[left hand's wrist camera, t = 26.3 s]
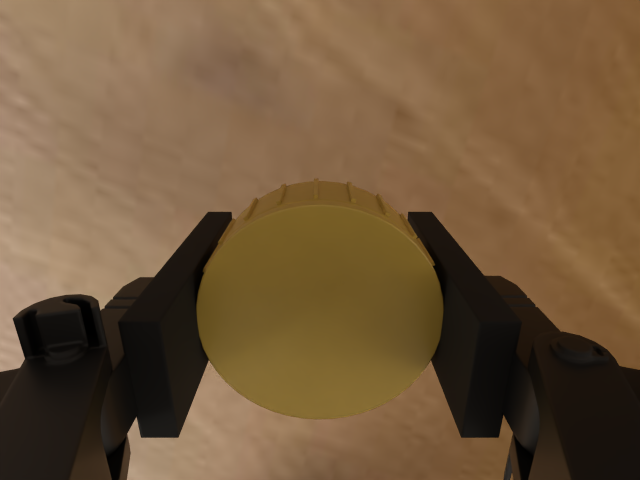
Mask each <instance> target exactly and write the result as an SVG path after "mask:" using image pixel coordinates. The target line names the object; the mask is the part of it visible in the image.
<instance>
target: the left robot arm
mask: <svg viewBox="0 0 640 480" xmlns="http://www.w3.org/2000/svg"><path fill="white" fill-rule="evenodd" d="M231 220H232V213H231V212H208V213H207V214H206V215H205V216H204V218H203V219H202V220H201V221H200V222H199V224H198V225H197V226H196V227H195V228H194V230H193V231H192V232H191V233H190V235H189V236H188V237H187V238H186V239H185V241H184V242H183V243H182V244H181V245H180V247H179V248H178V249H177V250H176V252H175V253H174V254H173V255H172V256H171V258H170V259H169V260H168V261H167V262H166V264H165V265H164V266H163V267H162V269H161V270H160V271H159V272H158V273H157V275H156V276H155V277H140V278H138V279H136V280H134V281H132V282H131V283H129V284H127V285H125V286H123V287H122V288H121V290H120V291H119V292H118V293H117V294H116V295H115V296H114V297H113V300H110V301H109V302H108V303H107V305H106V306H105V309H102V310H101V311H100V307H99V303H98V300H96V299H95V298H94V297H92V296H87V295H82V294H76V295H63V296H58V297H53V298H49V299H46V300H43V301H40V302H38V303H35V304H33V305H31V306H29V307H27V308H25V309H23V310H22V311H20V312H19V313H18V314H17V315H16V316H15V317H14V318H13V321H14V324H15V327H16V331H17V334H18V337H19V340H20V344H21V347H22V350H23V353H24V357H25V360H24V362H23V364H22V365H21V367H20V368H18V369H14V370H8V371H3V372H0V480H127V474H128V467H129V460H130V445H129V440H128V436H127V433H128V431H129V429H130V427H131V426H132V424H133V422H134V420H135V418H136V416H137V420H138V425H139V430H140V435H141V438H178V437H179V435H180V432H181V430H182V427H183V424H184V422H185V419H186V417H187V414H188V412H189V409H190V407H191V404H192V401H193V399H194V396H195V394H196V391H197V389H198V386H199V384H200V381H201V378H202V376H203V373H204V371H205V368H206V366H207V363H208V361H209V359H208V357H207V355H206V353H205V351H204V349H203V346H202V343H201V340H200V337H199V331H198V323H197V315H196V302H197V295H198V290H199V286H200V283H201V280H202V277H203V275H204V272H203V269H204V267H205V265H206V264H207V262H208V260H209V259H210V257H211V255H212V254H213V252H214V250H215V249H216V247H217V246H218V241H219V240H220V238H221V237H222V235H223V233H224V232H225V230H226V228H227V227H228V225H229V224H230V222H231ZM408 222H409V224H410V225H411V227H412V229H413V230H414V232H415V233H416V235H417V238H419V239H420V240H421V242H422V244H423V245H424V247H425V248H426V250H427V252H428V253H429V255H430V257H431V258H432V260H433V261H434V264H435V266H433V268H434V270H435V272H436V275H437V277H438V280H439V282H440V286H441V290H442V295H443V302H444V312H443V321H442V329H441V336H440V341H439V343H438V346H437V348H436V351H435V353H434V355H433V357H432V359H431V361H432V364H433V366H434V369H435V371H436V374H437V377H438V379H439V382H440V384H441V387H442V389H443V392H444V394H445V397H446V400H447V402H448V405H449V407H450V410H451V412H452V415H453V417H454V420H455V423H456V425H457V428H458V430H459V433H460V435H461V438H499V434H500V429H501V424H502V419H503V415H504V416H505V418H506V420H507V422H508V424H509V426H510V427H511V429H512V431H513V436H512V440H511V445H510V449H509V454H508V459H507V463H506V468H505V472H504V480H510V478H511V473H513V480H640V370H637V369H632V368H626V367H622V366H619V365H618V363H617V361H616V359H615V358H614V357H613V356H612V355H611V353H610V352H609V351H608V350H607V349H605V348H604V347H602V346H601V345H599V344H598V343H596V342H594V341H592V340H589V339H587V338H585V337H582V336H580V335H575V334H571V333H567V332H560V330H559V329H558V328H557V327H556V326H555V325H554V324H553V323H552V322H551V321H550V320H549V319H548V318H547V317H546V316H545V315H544V313H543V312H542V311H541V310H540V309H539V308H538V307H535V304H534V303H533V302H532V301H531V300H530V299H529V298H527V295H526V294H525V293H524V292H523V291H522V290H521V289H520V288H519V287H518V286H517V285H516V284H514V283H512V282H510V281H508V280H507V279H505V278H503V277H501V276H484V275H483V274H482V273H481V271H480V270H479V269H478V268H477V266H476V265H475V264H474V263H473V262H472V260H471V259H470V258H469V257H468V256H467V254H466V253H465V252H464V251H463V249H462V248H461V247H460V246H459V245H458V243H457V242H456V241H455V240H454V239H453V237H452V236H451V235H450V234H449V232H448V231H447V230H446V229H445V228H444V226H443V225H442V224H441V223H440V222H439V220H438V219H437V218H436V217H435V215H434V214H433V213H432V212H408ZM417 238H416V239H417Z"/></svg>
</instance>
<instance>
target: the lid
mask: <svg viewBox="0 0 640 480" xmlns="http://www.w3.org/2000/svg"><path fill="white" fill-rule="evenodd" d="M416 238H417V235H416V233H415V232H414V230H413V229H412V227H411V225H410V224H409V222H408V220H407V219H406V217H405V216H404V214H403V213H402V214H401V215H399V214H398V213H397V212H396V211H395V210H394V209H393V208H392V207H391V206H390V205H389V204H387V203H386V202H384V200H383V198H382V197H381V195H379V194H377V196H375V195H373V194H371V193H369V192H367V191H365V190H362V189H360V188H357V187H354V186H352V183H351V182H347V184H342V183H337V182H326V181H318V179H314V182H304V183H298V184H293V185H289V186H286V184H283V185H281V188H280V189H277V190H275V191H273V192H271V193H269V194H267V195H265V196H263V197H262V198H260V199H259V200H258V199H257V198H255V199H253V201H252V203H251V204H250V206H249V207H248V208H247V209H246V210H244V211H243V213H242V214H241V215H240V216H239V217H238V218H237V219H236V220H235V219H234V218H233V219H232V220H231V222H230V224H229V225H228V227H227V228H226V230H225V232H224V233H223V235H222V237H221V238H220V240H219V241H218V246H217V247H216V249H215V250H214V252H213V254H212V255H211V257H210V259H209V260H208V262H207V264H206V265H205V267H204V269H203V272H204V275H203V277H202V280H201V283H200V286H199V290H198V295H197V302H196V315H197V323H198V331H199V337H200V340H201V343H202V346H203V349H204V351H205V353H206V355H207V357H208V359H209V361H210V362H211V364H212V365H213V367H214V368H215V370H216V371H217V372H218V374H219V375H220V376H221V377H222V378H223V379H224V380H225V382H226V383H228V384H229V385H230V386H231V387H232V388H233V389H234V390H235V391H237V392H238V393H239V394H241V395H242V396H244V397H245V398H247V399H248V400H250V401H252V402H254V403H255V404H257V405H259V406H261V407H264V408H266V409H269V410H271V411H273V412H277V413H280V414H284V415H287V416H292V417H298V418H305V419H335V418H342V417H348V416H352V415H356V414H360V413H363V412H366V411H369V410H372V409H374V408H376V407H378V406H381V405H383V404H385V403H387V402H388V401H390V400H392V399H393V398H395V397H396V396H398V395H399V394H401V393H402V392H403V391H404V390H406V389H407V388H408V387H409V386H410V385H411V384H412V383H413V382H414V381H415V380H416V379H417V378H418V377H419V376H420V375H421V373H422V372H423V371H424V369H425V368H426V367H427V366H428V364H429V362H430V360H431V359H432V357H433V355H434V353H435V351H436V348H437V346H438V343H439V341H440V336H441V329H442V321H443V312H444V302H443V295H442V290H441V286H440V282H439V280H438V277H437V275H436V272H435V270H434V268H433V266H435V264H434V261H433V260H432V258H431V257H430V255H429V253H428V252H427V250H426V248H425V247H424V245H423V244H422V242H421V240H420V239H419V238H417V239H416Z"/></svg>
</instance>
